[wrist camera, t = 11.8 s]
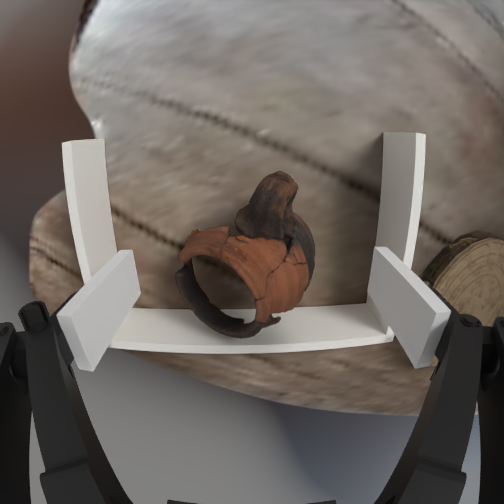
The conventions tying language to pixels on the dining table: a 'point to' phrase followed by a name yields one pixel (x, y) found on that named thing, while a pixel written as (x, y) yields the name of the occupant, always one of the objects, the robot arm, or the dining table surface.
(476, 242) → the wood slice
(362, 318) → the bin
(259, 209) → the pottery mug
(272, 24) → the dining table surface
